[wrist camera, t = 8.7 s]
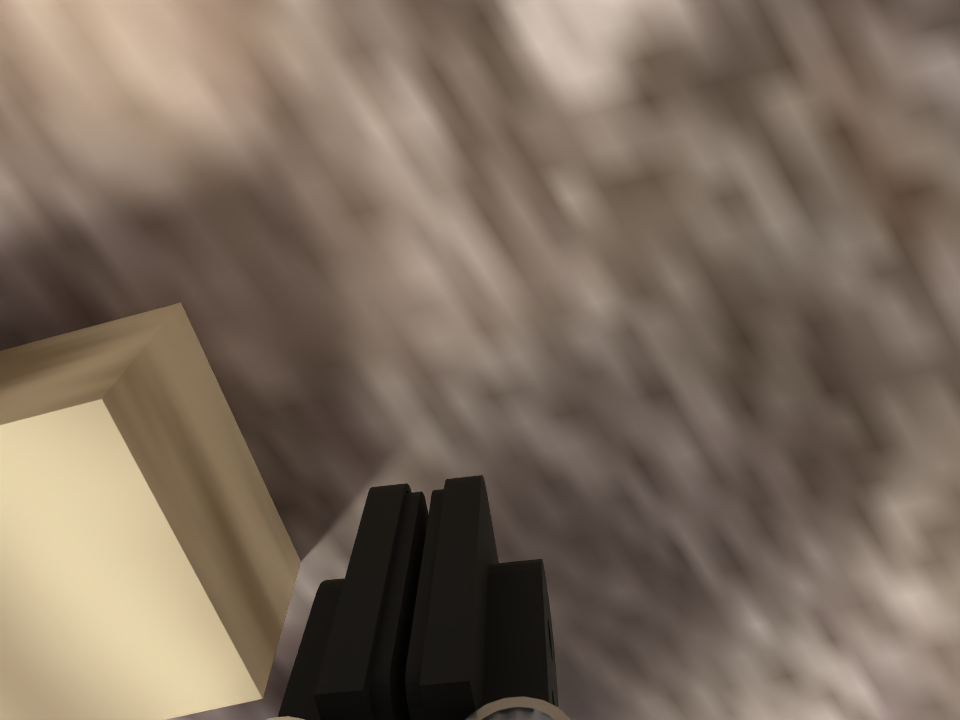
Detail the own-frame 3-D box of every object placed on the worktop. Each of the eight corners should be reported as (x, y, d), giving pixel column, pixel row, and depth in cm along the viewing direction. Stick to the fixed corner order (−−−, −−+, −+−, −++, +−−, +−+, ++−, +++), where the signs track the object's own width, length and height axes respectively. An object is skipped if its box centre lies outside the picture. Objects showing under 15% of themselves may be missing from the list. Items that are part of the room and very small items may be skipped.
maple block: (183, 298, 20) (101, 398, 16) (302, 555, 24) (262, 698, 19) (-185, 397, 21) (-361, 518, 17) (-21, 630, 25) (-130, 782, 20)
